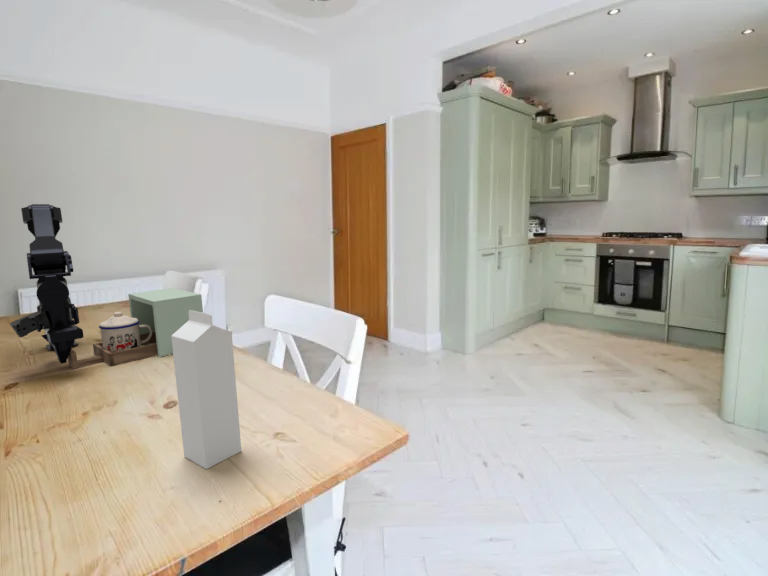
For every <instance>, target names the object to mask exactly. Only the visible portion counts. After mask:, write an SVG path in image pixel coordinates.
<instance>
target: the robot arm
mask: <svg viewBox="0 0 768 576" xmlns="http://www.w3.org/2000/svg"><path fill="white" fill-rule="evenodd" d="M61 209H62V208H61V207H57V206H55V205H51V204H49V203H39V204H38V203H32V204H31V205H30V204H29V205H28V206H27V205H26V206H25V207H22V208H21V215H22V222H23V224H24V225H27V230H28V231H29V232H30V234H32V235H33V237H34V240H32V242H30V243H29V245H28V246H29V252H26V262H27V268H28V277H29V280H35V279H36V280H37V281H36V287H37V288H36V297H37V298H36V299H38V302H39V304H38V305H37V306H36V310H37V311H35V312H33V313H30V314H27V315H25V316H23V317H21V318H18V319H16V320H14V321H12V322H10V323H9V325H10V327H11V328H12V329H13V330H14V333H15V334H16V335H17V336H18V338H24V337H26V336H28V334H30V333H33V332H35V331H36V332H37V333H40V332H42V330H44V331H45V332H44V333H45V334H42V335H41V337H42V338H43V339H44V340H45V341H46V342H47V343H48V344H46V345H45V347H46V348H47V349H48V350H49V351H54V354H55V355H56V357H57V360H58V362H59V363H60V364H66V363H67V362H68V356H69V354H70V351H71V349H72V348H73V347H77V346H79V343H77V342H76V340H79V339H83V338H84V330H83V329H82V328H81V327H79V326H77V325H78V324H80V316H79V308H77V307H76V305H75V303H72V301H71V298H70V291H69V288H68V287H69V286H68V281H67V279H66V277H71V276H72V273H73V272H74V266H73V260H72V255H70V254H69V252H68V251H67V250H64V246H63V242H62V241H60V240H58V239H57V235H58V233H59V231H60V229H61V225H60V224H63V216H62V210H61ZM66 270H67V271H66ZM33 273H34V274H33Z"/></svg>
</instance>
